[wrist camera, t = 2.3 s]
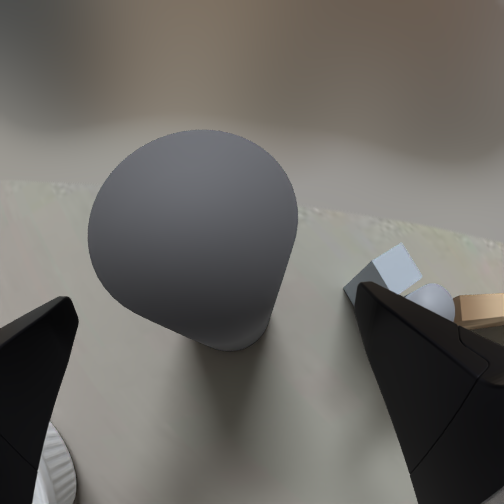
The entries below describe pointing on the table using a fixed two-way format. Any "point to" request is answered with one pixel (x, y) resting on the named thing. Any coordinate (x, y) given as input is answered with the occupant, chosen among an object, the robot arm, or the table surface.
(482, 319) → the door
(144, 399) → the table surface
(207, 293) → the gray cylinder
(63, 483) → the ramekin
